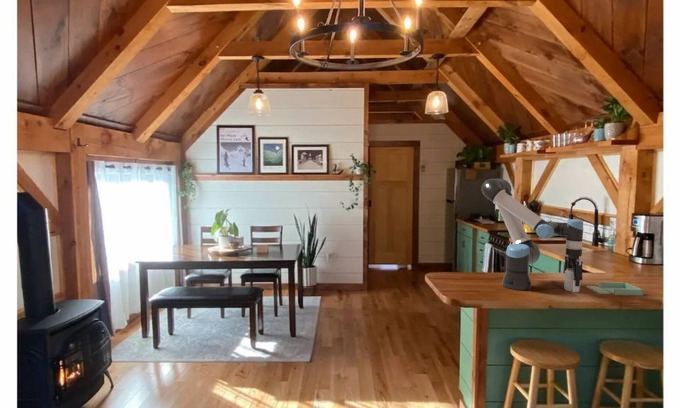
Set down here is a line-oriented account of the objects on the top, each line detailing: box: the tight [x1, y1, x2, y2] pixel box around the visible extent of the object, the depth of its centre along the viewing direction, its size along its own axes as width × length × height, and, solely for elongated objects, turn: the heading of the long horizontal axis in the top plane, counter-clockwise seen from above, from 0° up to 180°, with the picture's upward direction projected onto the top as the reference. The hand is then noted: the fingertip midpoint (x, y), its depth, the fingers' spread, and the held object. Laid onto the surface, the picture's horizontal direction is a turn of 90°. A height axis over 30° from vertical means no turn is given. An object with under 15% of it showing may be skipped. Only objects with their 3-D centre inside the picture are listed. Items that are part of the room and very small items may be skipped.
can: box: [563, 268, 581, 293], centre depth 208 cm, size 8×8×12 cm
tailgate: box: [585, 285, 611, 295], centre depth 208 cm, size 1×11×6 cm
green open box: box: [598, 281, 644, 296], centre depth 207 cm, size 14×14×4 cm
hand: (571, 289), depth 209 cm, fingers closed on can, 7 cm apart
